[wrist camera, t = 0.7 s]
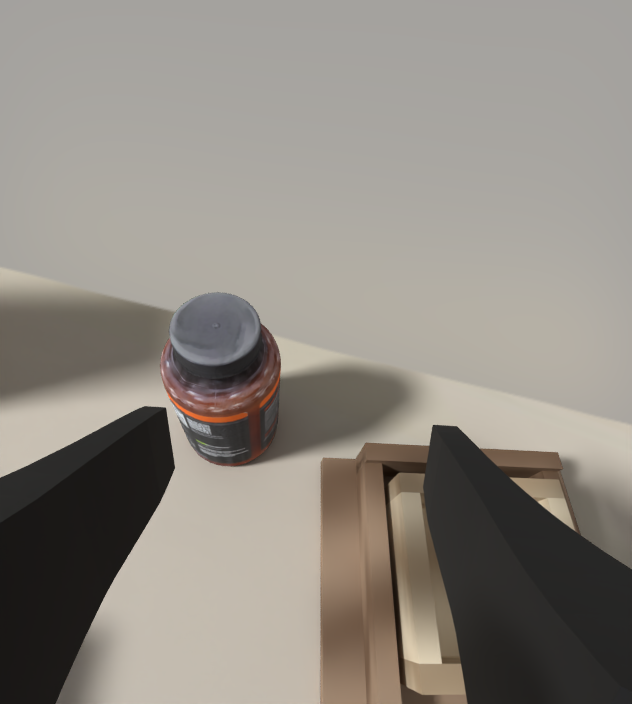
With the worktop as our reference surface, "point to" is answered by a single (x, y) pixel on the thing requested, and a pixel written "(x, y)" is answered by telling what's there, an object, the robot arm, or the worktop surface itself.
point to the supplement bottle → (222, 378)
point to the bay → (378, 569)
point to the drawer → (433, 584)
